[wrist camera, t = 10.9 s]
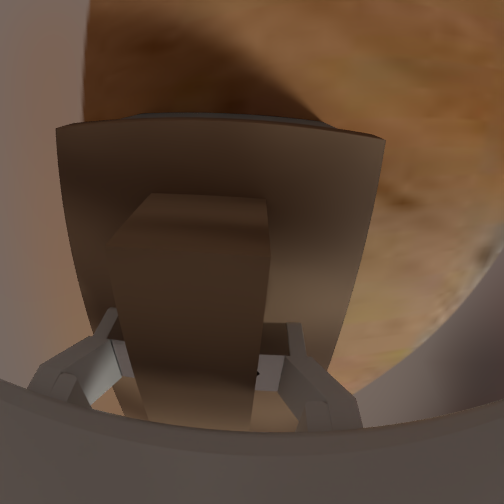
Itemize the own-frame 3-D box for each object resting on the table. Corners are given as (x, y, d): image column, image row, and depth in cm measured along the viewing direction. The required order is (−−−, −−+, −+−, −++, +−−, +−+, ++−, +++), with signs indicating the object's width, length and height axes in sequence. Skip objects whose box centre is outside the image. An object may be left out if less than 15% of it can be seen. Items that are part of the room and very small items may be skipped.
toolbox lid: (85, 119, 10) (-18, 154, 5) (363, 130, 11) (448, 169, 5) (135, 395, 18) (114, 470, 13) (298, 409, 18) (305, 488, 13)
